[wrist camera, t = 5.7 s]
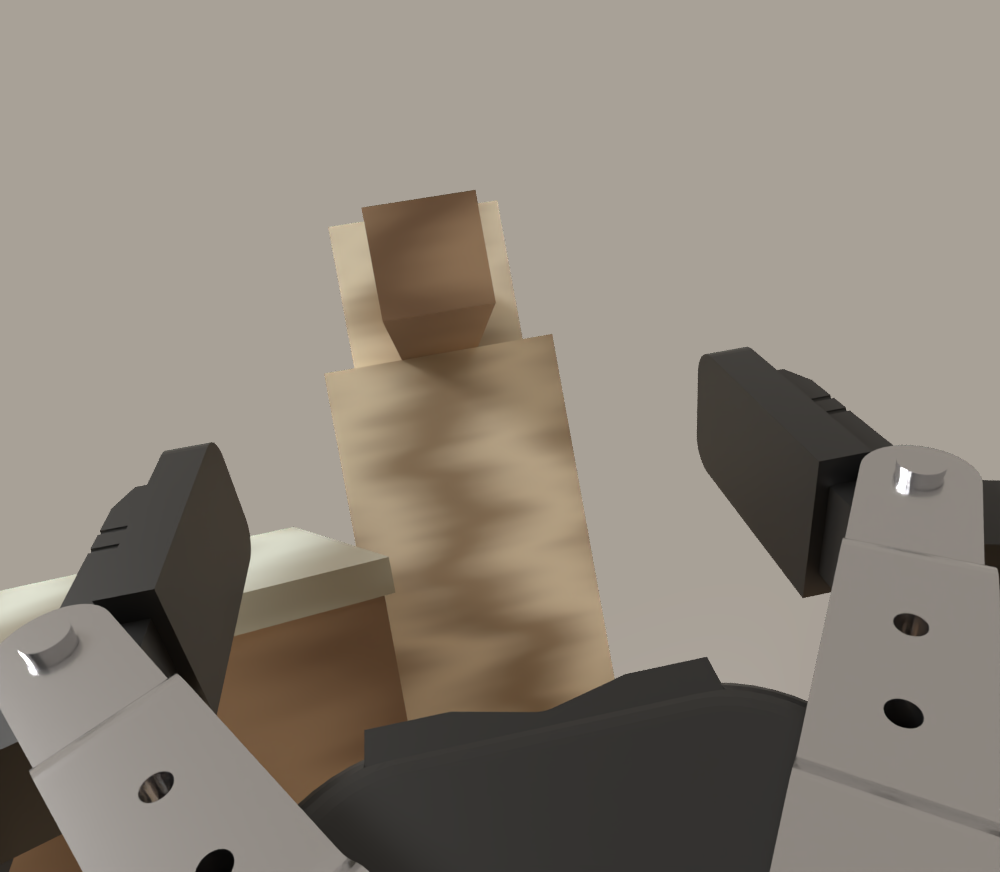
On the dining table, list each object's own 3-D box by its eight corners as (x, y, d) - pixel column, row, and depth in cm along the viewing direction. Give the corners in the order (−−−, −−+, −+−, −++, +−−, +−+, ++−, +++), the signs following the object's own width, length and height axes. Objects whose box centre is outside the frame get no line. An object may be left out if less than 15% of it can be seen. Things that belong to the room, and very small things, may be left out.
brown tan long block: (305, 334, 19) (262, 104, 19) (371, 384, 37) (349, 267, 37) (569, 290, 19) (529, 65, 19) (508, 360, 37) (486, 244, 37)
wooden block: (475, 1240, 28) (315, 374, 28) (467, 1037, 38) (347, 390, 37) (713, 1176, 29) (560, 331, 29) (646, 993, 39) (530, 358, 38)
